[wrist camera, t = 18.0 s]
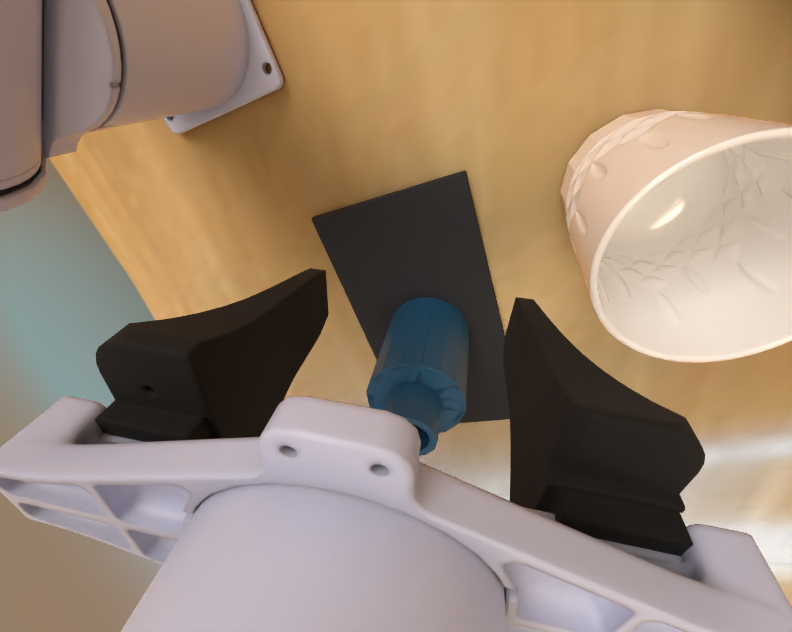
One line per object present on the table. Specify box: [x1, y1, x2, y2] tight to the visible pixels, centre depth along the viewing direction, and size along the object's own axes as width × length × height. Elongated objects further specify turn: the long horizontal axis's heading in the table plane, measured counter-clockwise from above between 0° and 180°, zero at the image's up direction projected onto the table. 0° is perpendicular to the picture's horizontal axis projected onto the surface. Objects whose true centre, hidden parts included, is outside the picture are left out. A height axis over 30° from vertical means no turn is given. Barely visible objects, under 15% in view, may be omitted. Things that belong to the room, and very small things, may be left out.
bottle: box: [366, 297, 469, 455], centre depth 23 cm, size 6×6×10 cm
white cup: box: [560, 109, 792, 362], centre depth 16 cm, size 8×8×10 cm
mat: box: [312, 171, 510, 423], centre depth 27 cm, size 20×10×1 cm, turn 19°
